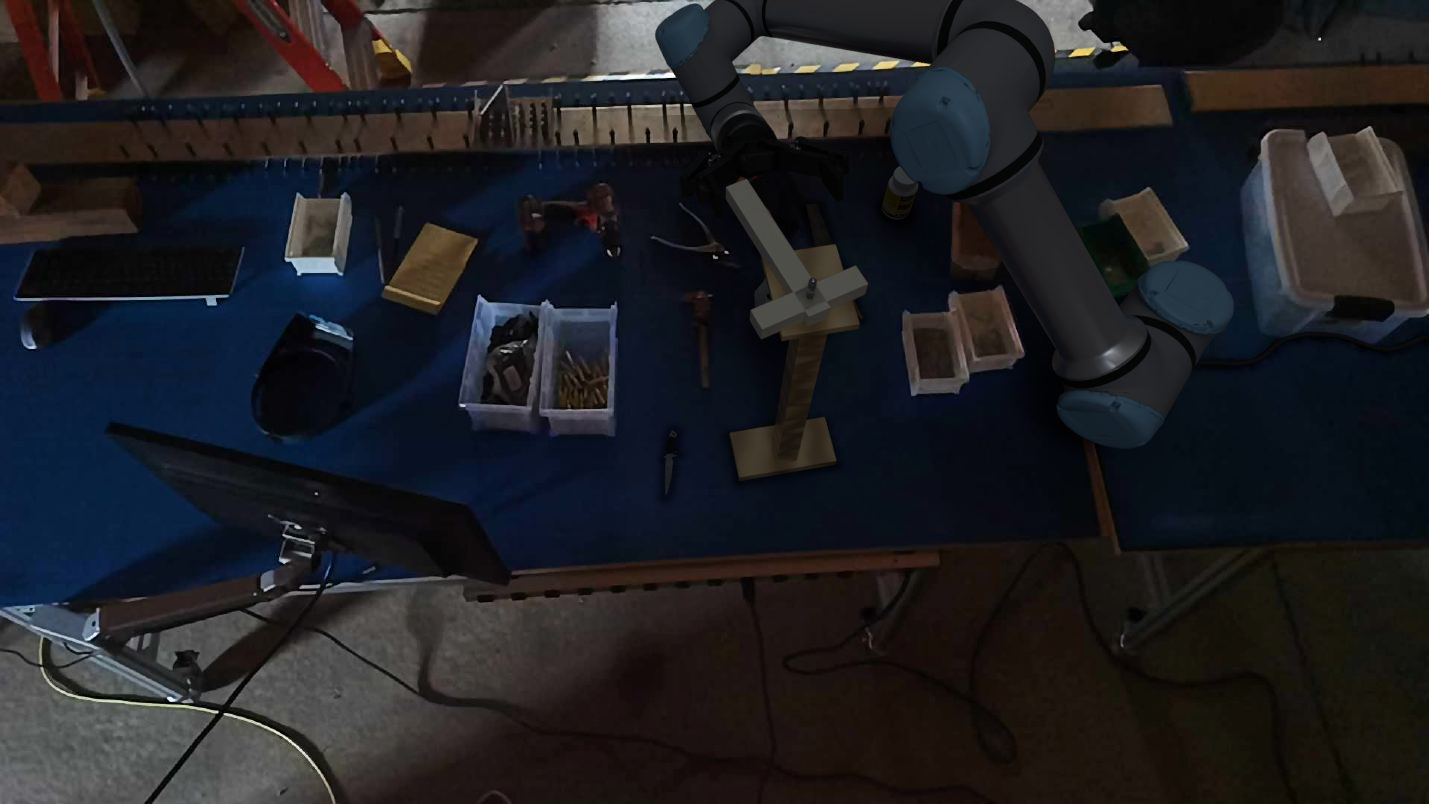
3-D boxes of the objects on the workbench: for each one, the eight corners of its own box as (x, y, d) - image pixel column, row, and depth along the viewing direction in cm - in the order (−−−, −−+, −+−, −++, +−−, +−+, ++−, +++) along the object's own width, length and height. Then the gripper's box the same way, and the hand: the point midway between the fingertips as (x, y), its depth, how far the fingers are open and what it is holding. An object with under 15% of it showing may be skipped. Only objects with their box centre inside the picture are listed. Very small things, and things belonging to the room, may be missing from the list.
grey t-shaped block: (784, 175, 95) (788, 143, 90) (869, 300, 87) (877, 271, 83) (685, 214, 92) (684, 183, 88) (764, 345, 85) (767, 318, 81)
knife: (668, 498, 120) (668, 497, 120) (655, 496, 120) (655, 494, 120) (681, 432, 125) (681, 431, 124) (669, 430, 125) (669, 429, 125)
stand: (819, 405, 127) (863, 239, 91) (836, 468, 122) (889, 319, 86) (726, 421, 125) (733, 259, 90) (739, 484, 121) (752, 341, 85)
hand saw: (790, 208, 143) (790, 205, 142) (816, 203, 143) (817, 200, 143) (835, 329, 132) (836, 326, 132) (863, 322, 133) (864, 320, 132)
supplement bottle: (894, 225, 141) (905, 191, 134) (875, 206, 143) (884, 172, 135) (916, 211, 143) (927, 176, 135) (897, 193, 144) (907, 158, 137)
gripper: (837, 156, 116) (888, 213, 98) (653, 182, 114) (672, 245, 96) (836, 99, 112) (890, 148, 94) (645, 125, 109) (664, 180, 92)
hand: (780, 197), depth 95 cm, fingers open, 13 cm apart
